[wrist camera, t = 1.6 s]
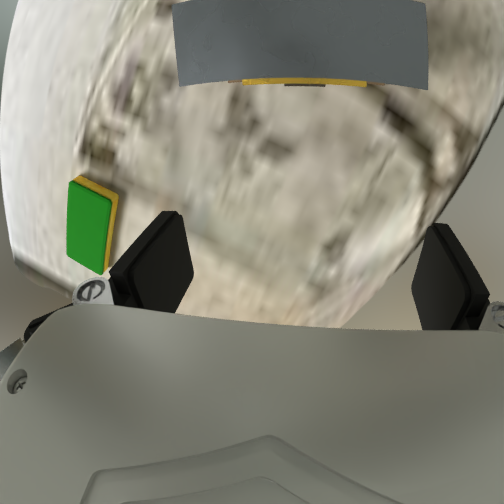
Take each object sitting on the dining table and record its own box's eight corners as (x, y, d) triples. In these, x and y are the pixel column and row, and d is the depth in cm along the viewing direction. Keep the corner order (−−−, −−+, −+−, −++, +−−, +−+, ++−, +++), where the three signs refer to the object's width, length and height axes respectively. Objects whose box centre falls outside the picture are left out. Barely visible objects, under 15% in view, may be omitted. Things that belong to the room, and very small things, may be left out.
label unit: (226, 24, 21) (162, -1, 11) (380, 25, 19) (432, -3, 8) (230, 83, 25) (172, 98, 14) (381, 85, 22) (435, 102, 12)
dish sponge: (74, 247, 42) (66, 255, 40) (79, 173, 34) (68, 180, 32) (109, 266, 43) (101, 276, 41) (121, 193, 35) (110, 202, 33)
